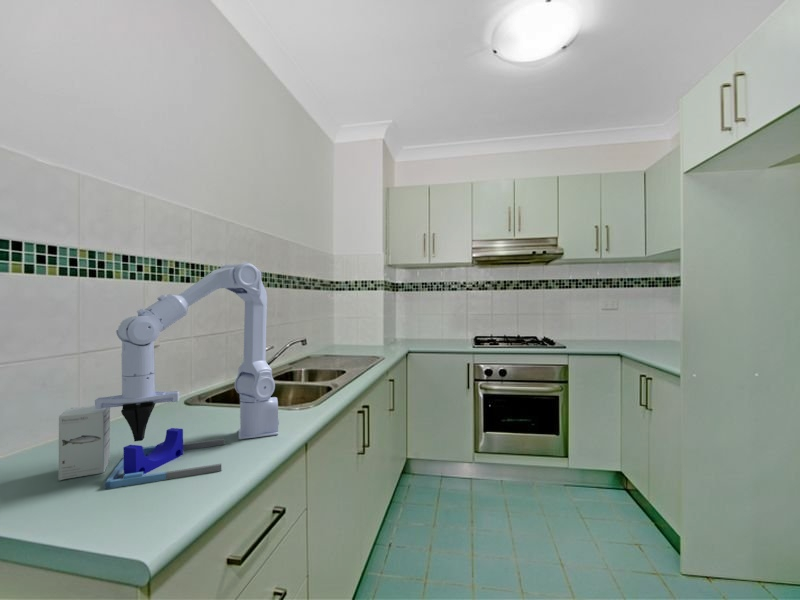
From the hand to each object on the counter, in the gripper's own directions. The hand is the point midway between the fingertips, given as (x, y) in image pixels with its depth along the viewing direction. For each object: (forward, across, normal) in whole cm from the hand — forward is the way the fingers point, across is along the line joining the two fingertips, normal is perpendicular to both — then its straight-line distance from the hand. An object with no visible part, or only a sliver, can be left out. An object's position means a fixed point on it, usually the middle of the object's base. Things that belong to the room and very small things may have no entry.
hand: (139, 439), depth 82 cm
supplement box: (+6, +10, -3) cm, 12 cm away
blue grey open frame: (+6, -6, 0) cm, 8 cm away
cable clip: (+6, -2, -1) cm, 7 cm away
